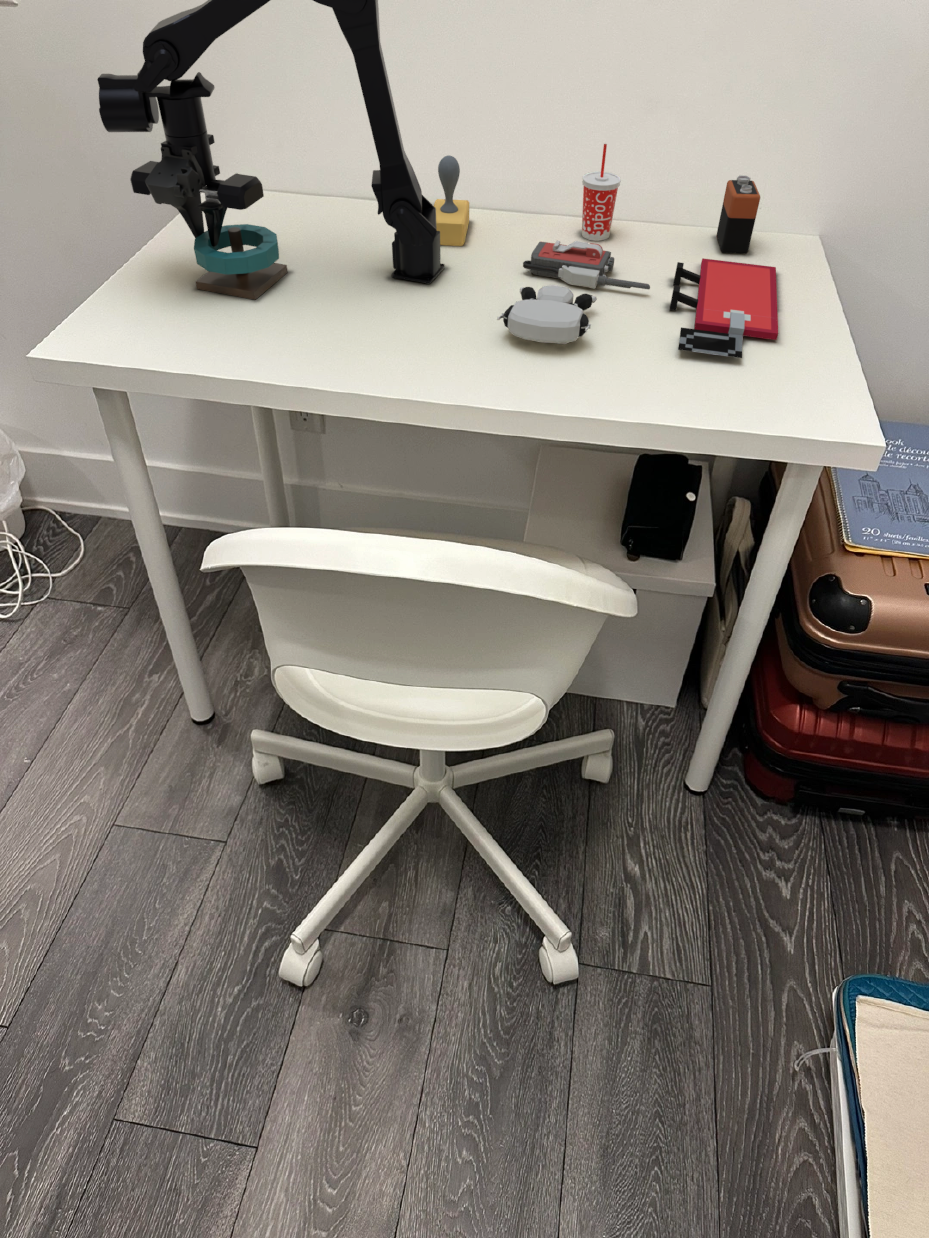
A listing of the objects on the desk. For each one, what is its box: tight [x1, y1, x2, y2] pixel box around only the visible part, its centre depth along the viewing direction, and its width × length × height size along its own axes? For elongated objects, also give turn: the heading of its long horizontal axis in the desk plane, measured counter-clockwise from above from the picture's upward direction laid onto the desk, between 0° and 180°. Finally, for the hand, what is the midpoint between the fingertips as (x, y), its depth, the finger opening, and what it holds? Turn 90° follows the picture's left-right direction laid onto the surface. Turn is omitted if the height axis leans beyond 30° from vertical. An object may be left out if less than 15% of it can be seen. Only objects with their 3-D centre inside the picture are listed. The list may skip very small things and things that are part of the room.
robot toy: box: [496, 284, 598, 345], centre depth 124 cm, size 12×4×15 cm
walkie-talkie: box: [522, 240, 651, 290], centre depth 136 cm, size 9×4×20 cm
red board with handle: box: [669, 257, 779, 359], centre depth 129 cm, size 30×3×15 cm
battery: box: [716, 174, 761, 255], centre depth 143 cm, size 4×7×10 cm, turn 176°
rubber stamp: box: [433, 154, 470, 247], centre depth 145 cm, size 10×6×12 cm, turn 175°
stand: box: [195, 227, 289, 301], centre depth 133 cm, size 10×10×8 cm
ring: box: [193, 223, 280, 275], centre depth 133 cm, size 12×12×2 cm
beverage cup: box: [581, 143, 622, 242], centre depth 144 cm, size 6×6×14 cm
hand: (208, 244), depth 134 cm, fingers closed on ring, 2 cm apart
